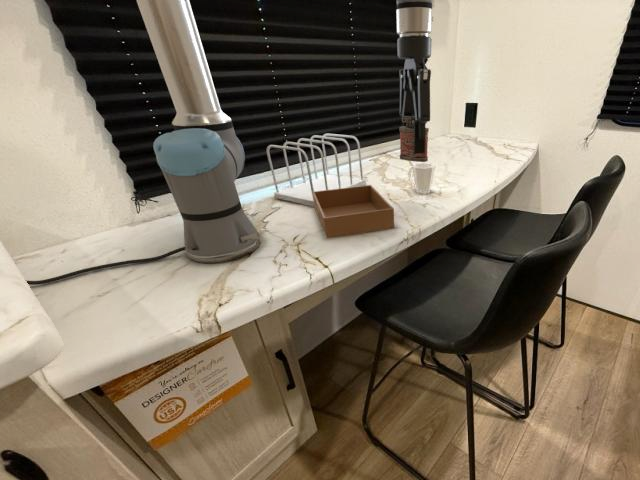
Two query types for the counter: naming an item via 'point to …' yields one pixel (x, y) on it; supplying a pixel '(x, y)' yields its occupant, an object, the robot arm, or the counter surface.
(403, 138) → the lighter
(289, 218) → the counter surface
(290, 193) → the file sorter
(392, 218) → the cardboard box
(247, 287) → the counter surface
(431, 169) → the cup
